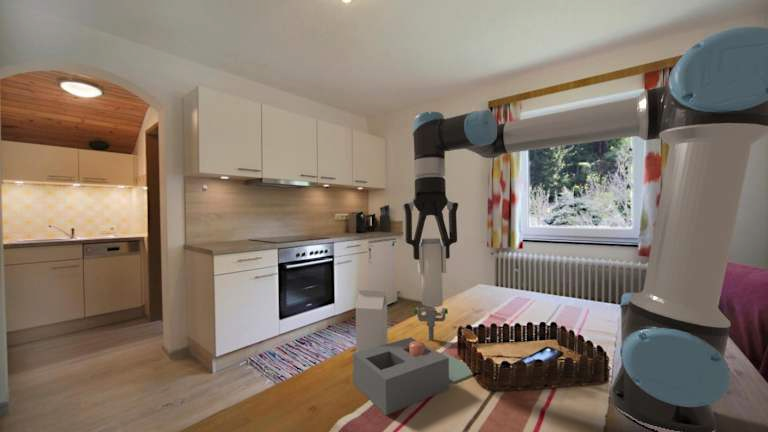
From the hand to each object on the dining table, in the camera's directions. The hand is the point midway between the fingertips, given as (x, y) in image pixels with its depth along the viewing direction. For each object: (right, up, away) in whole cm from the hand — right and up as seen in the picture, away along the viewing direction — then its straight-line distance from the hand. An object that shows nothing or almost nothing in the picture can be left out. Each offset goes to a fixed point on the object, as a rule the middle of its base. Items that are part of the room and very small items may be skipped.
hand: (431, 272), depth 76 cm
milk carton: (-15, -26, +8) cm, 31 cm away
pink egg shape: (-4, -24, -2) cm, 25 cm away
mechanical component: (+3, -25, +21) cm, 33 cm away
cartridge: (0, -8, 0) cm, 8 cm away
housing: (-8, -25, -5) cm, 27 cm away
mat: (+5, -25, +4) cm, 26 cm away
